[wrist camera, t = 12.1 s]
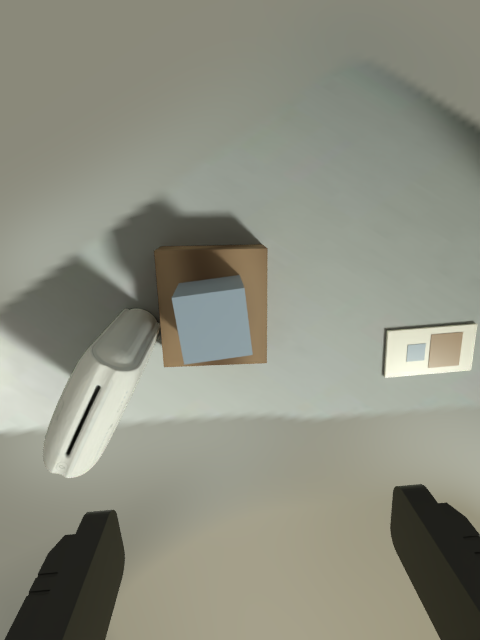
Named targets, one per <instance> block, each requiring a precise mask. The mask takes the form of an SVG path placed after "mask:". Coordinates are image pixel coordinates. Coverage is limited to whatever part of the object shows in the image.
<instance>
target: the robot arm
mask: <svg viewBox="0 0 480 640" xmlns="http://www.w3.org/2000/svg"><path fill="white" fill-rule="evenodd" d="M390 529H391V537H392V541H393V545H394V547H395V550H396V552H397V554H398V556H399V558H400V560H401V562H402V564H403V566H404V568H405V570H406V572H407V574H408V576H409V578H410V580H411V582H412V584H413V586H414V588H415V590H416V592H417V594H418V596H419V598H420V600H421V602H422V604H423V606H424V608H425V610H426V611H427V614H428V615H429V618H430V620H431V621H432V623H433V625H434V627H435V629H436V631H437V633H438V635H439V637H440V639H441V640H480V535H479V533H478V532H477V531H476V530H475V528H474V527H473V526H472V524H471V523H470V522H469V521H468V519H467V518H466V517H465V516H464V515H462V514H461V513H460V512H458V511H457V510H456V509H454V508H453V507H452V506H450V505H449V504H448V503H437V501H436V500H435V499H434V497H433V496H432V495H431V493H430V492H429V491H428V489H427V488H426V487H425V486H424V485H422V484H419V485H407V486H396V487H395V488H394V490H393V501H392V513H391V527H390ZM124 561H125V554H124V546H123V542H122V537H121V532H120V527H119V522H118V518H117V513H116V511H115V510H106V511H94V512H87V513H86V514H85V515H84V517H83V519H82V521H81V523H80V525H79V527H78V530H77V532H76V534H73V535H65V536H64V537H63V538H62V539H61V540H60V541H59V542H58V543H57V544H56V546H55V547H54V548H53V549H52V550H51V551H50V552H49V553H48V555H47V557H46V559H45V561H44V563H43V565H42V567H41V569H40V571H39V573H38V577H37V578H36V579H35V581H34V583H33V585H32V587H31V589H30V591H29V595H28V596H27V597H26V598H25V600H24V603H23V604H22V607H21V608H20V610H19V612H18V614H17V616H16V618H15V620H14V622H13V624H12V626H11V628H10V630H9V632H8V634H7V636H6V638H5V640H105V638H106V634H107V631H108V627H109V623H110V620H111V616H112V612H113V609H114V605H115V602H116V598H117V594H118V591H119V587H120V583H121V580H122V575H123V570H124Z"/></svg>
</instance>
